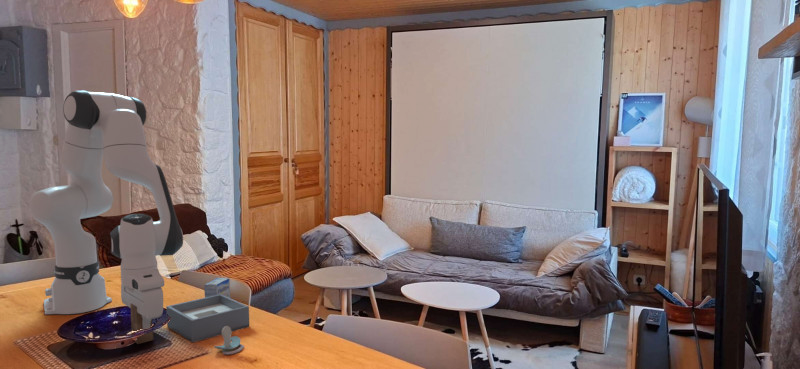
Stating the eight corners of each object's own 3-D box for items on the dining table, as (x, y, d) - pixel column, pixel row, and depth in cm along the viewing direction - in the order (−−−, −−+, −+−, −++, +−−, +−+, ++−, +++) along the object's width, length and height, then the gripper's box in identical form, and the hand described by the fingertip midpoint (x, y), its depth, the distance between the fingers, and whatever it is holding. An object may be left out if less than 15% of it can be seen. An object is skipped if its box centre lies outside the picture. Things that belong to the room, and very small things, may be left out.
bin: (167, 326, 158) (166, 306, 157) (221, 313, 169) (220, 294, 169) (192, 342, 146) (192, 320, 145) (249, 326, 157) (248, 306, 157)
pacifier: (249, 347, 143) (230, 343, 145) (249, 324, 143) (230, 320, 145) (230, 358, 136) (211, 354, 139) (230, 334, 136) (211, 330, 138)
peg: (132, 339, 148) (130, 303, 147) (147, 336, 150) (145, 300, 149) (137, 344, 145) (135, 307, 144) (153, 340, 148) (151, 303, 147)
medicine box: (217, 312, 170) (217, 284, 169) (204, 311, 171) (203, 284, 170) (230, 304, 178) (229, 278, 177) (218, 303, 179) (217, 277, 178)
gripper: (113, 271, 151) (116, 320, 152) (141, 286, 137) (144, 340, 138) (137, 267, 155) (139, 314, 157) (167, 281, 141) (169, 333, 142)
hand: (142, 326), depth 147 cm, fingers closed on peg, 4 cm apart
